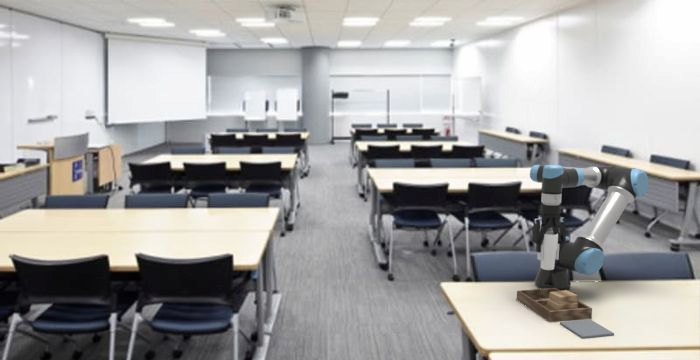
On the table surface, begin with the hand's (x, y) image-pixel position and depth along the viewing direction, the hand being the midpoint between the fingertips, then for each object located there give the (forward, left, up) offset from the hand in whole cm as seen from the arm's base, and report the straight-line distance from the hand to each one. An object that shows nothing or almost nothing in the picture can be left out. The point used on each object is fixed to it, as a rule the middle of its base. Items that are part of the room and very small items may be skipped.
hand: (547, 259), depth 224 cm
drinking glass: (0, 0, -4) cm, 4 cm away
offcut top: (0, +12, -13) cm, 18 cm away
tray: (0, +6, -19) cm, 20 cm away
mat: (0, +27, -19) cm, 33 cm away
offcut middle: (0, +12, -16) cm, 20 cm away
